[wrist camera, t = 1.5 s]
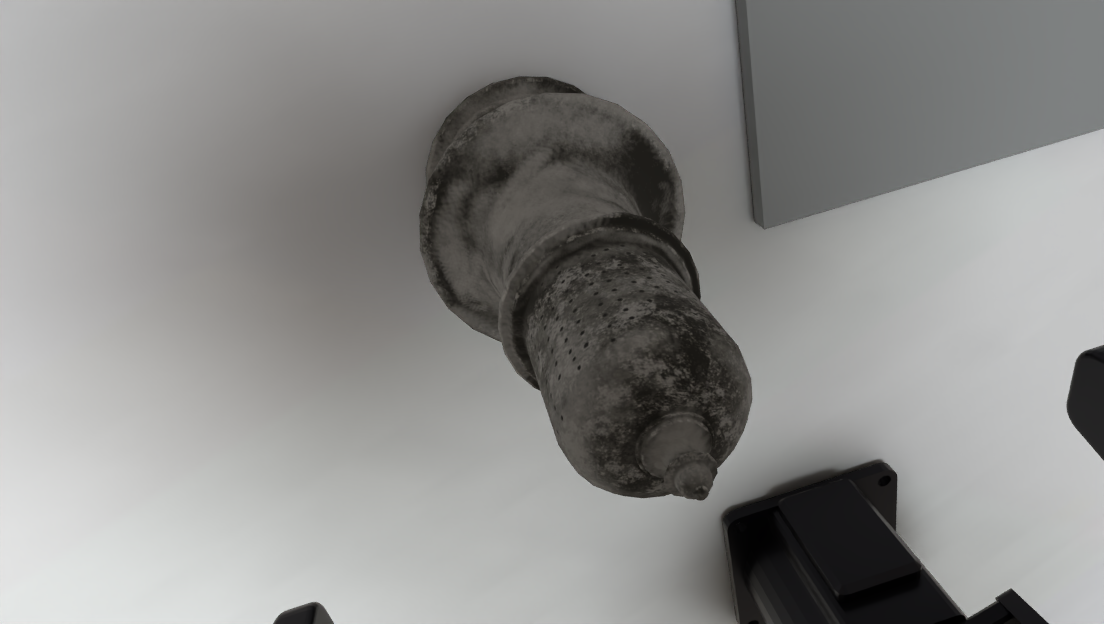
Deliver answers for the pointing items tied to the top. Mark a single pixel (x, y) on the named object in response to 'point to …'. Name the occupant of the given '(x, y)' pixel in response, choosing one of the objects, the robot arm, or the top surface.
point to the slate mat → (907, 91)
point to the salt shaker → (585, 282)
